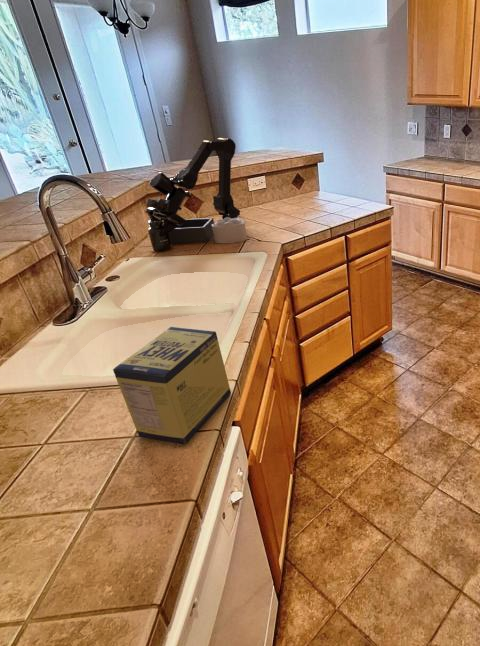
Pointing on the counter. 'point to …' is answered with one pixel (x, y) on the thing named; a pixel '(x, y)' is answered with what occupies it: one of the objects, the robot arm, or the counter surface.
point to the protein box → (174, 384)
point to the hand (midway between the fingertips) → (155, 235)
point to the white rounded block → (229, 230)
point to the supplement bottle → (158, 237)
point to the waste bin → (192, 231)
